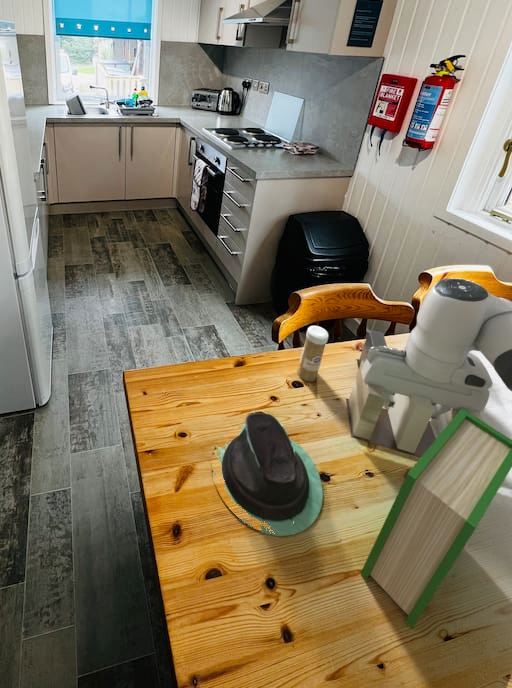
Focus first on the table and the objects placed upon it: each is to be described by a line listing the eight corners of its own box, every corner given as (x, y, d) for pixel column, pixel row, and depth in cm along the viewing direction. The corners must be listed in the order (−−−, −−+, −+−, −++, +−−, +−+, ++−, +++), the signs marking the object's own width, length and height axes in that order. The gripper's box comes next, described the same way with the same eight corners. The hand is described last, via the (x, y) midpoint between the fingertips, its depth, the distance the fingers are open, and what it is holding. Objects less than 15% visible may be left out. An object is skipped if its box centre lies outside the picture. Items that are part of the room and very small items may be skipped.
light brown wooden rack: (446, 429, 84) (468, 384, 78) (463, 474, 75) (490, 427, 70) (344, 401, 89) (358, 357, 84) (349, 440, 80) (366, 394, 75)
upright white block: (403, 415, 85) (420, 374, 80) (414, 453, 77) (434, 410, 72) (387, 411, 86) (404, 370, 81) (397, 448, 78) (415, 405, 73)
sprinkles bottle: (306, 384, 93) (318, 340, 88) (292, 371, 97) (303, 327, 91) (320, 378, 95) (333, 335, 89) (306, 365, 99) (318, 322, 93)
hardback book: (411, 628, 55) (475, 528, 45) (360, 573, 60) (407, 473, 51) (461, 545, 64) (523, 447, 55) (413, 503, 70) (462, 408, 60)
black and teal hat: (191, 433, 79) (274, 409, 86) (225, 551, 69) (317, 513, 76) (217, 418, 68) (310, 391, 75) (262, 556, 58) (366, 511, 64)
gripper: (373, 354, 74) (355, 407, 79) (504, 385, 68) (474, 439, 74) (368, 332, 79) (351, 383, 85) (488, 360, 74) (462, 412, 79)
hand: (409, 409), depth 79 cm, fingers open, 6 cm apart
